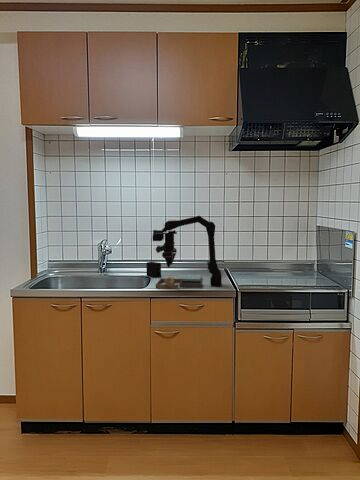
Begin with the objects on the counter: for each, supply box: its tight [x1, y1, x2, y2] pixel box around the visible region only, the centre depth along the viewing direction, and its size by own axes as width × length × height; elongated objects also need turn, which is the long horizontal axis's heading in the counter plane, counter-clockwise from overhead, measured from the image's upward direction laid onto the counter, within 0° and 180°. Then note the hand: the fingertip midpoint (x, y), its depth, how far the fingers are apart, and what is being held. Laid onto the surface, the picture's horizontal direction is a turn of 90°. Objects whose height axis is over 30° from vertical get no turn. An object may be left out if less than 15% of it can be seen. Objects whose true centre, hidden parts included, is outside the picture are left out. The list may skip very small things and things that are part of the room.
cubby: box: [155, 277, 182, 290], centre depth 252 cm, size 14×18×2 cm
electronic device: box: [145, 261, 162, 279], centre depth 278 cm, size 4×10×10 cm, turn 49°
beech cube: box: [164, 276, 175, 285], centre depth 252 cm, size 5×5×5 cm
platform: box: [175, 274, 202, 281], centre depth 268 cm, size 16×12×2 cm
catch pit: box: [179, 280, 203, 289], centre depth 251 cm, size 13×8×2 cm, turn 83°
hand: (169, 265), depth 251 cm, fingers open, 9 cm apart
